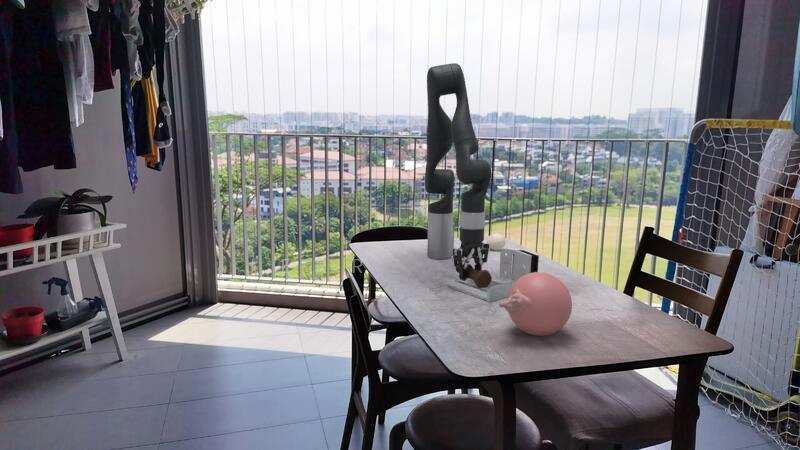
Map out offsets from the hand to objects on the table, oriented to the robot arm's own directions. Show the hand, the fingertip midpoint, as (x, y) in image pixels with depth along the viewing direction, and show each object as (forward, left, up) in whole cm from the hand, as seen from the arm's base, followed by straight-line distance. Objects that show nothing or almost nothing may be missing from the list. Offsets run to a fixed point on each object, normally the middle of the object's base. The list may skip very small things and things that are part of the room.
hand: (470, 278), depth 166 cm
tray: (0, +3, -3) cm, 4 cm away
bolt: (0, 0, -1) cm, 1 cm away
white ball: (-42, -27, -3) cm, 50 cm away
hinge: (-17, +5, -3) cm, 18 cm away
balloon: (+15, +35, -3) cm, 38 cm away
